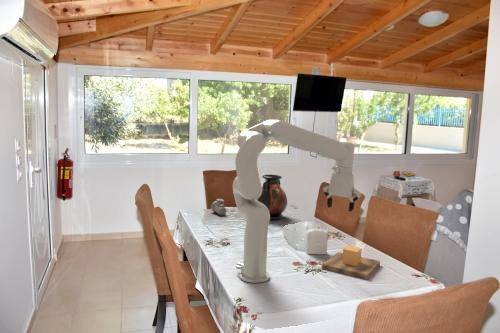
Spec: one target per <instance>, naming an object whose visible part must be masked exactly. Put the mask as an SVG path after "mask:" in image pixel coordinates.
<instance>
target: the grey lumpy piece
mask: <svg viewBox="0 0 500 333" xmlns="http://www.w3.org/2000/svg"><path fill="white" fill-rule="evenodd" d="M224 202H225V200H224V199H222V198H216V200H215V201H213V202H212V204H210V209H211V211H212V212H213V213H217V214H218V215H219V216H220V217H223V216H225V215H226V213H227V212H228V210H227V208H226V206H225V204H224Z"/></svg>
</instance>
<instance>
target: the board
mask: <svg viewBox="0 0 500 333" xmlns="http://www.w3.org/2000/svg"><path fill="white" fill-rule="evenodd" d="M342 260H343V252H341V251H338V252H336V253H335V254H333V256H331V257H329V258H328V259H327V260H326V261H324V262H323V263H322V264H321V269H323V270H326V271H330V272H334V273H337V274H342V275H348V276H350V277H351V276H352V277H355V278H359V279H364V280H368V279H369V278H370V277H371V276H372V275H373V274H374V272H375V271H376V270H377V269H378V268H379V267H380V265H381V260H377V259H373V258H372V259H371V258H367V257H363V256H361V262H360V263H359V264H358V265H357V266H353V265H348V264H344V263H342Z"/></svg>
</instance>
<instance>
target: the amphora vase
mask: <svg viewBox="0 0 500 333" xmlns="http://www.w3.org/2000/svg"><path fill="white" fill-rule="evenodd" d="M261 178H262V179H264V181H263V184H262V193H261V196H260V197H259V198H258V199H257V201H259V202H261V203H263V204H264V205H265V206H266V207H267V208H268V210H269V212H270V221H278V220H281V219H283V218H284V215H283V213H284V212H285V211H286V210H287V207H288V197H287V194H286V192H285V190H284V189H283V188H282V187H281V179H282V178H283V176H282V175H279V174H263V175H262V177H261Z"/></svg>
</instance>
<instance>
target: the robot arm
mask: <svg viewBox="0 0 500 333" xmlns="http://www.w3.org/2000/svg"><path fill="white" fill-rule="evenodd" d="M236 141H237V142H236V143H237V146H238V148H239V149H238V151H237V153H236V157H235V162H234V163H235V164H234V165H235V170H236V177H234V180H233V182H232V191H233V192H232V193H233V197H234V201H235V205H236V209H237V213H238V214H239V216H240V217H241V218H242V220H243V219H244V221H245V228H244V234H243V262H239V261H238V262H237V263H236V266H235V269H237V270H240V272H239V274H238V275H239V278H240V280H241V281H243V282H246V283H250V284H251V283H252V284H259V283H265V282H267V281H269V280H270V279H271V278H270V277H271V274H270V273H269V272H268V271H267V259H268V257H267V256H268V235H269V234H268V232H269V225H270V221H271V220H270V212H269V210H268V208H267V207H266V206H265V205H264V204H263V203H261V202H259V201H257V199H258V198H259V197H260V196H261V193H262V187H263V185H262V183H261V178H260V174H259V170H258V169H259V168H258V158H259V156H260V154H261V153H262V152H263V151H264V149H265V148H266V145H267V143H268V142H269V141H275V142H279V143H280V144H283V145H284V144H285V145H286V146H289V147H292V148H294V149H298V150H301V151H305V152H309V153H315V154H319V156H320V157H322V158H325V159H330V160H335V163H334V166H332V167H331V170H333V172H332V173H331V177H330V180H329V185H327V186H324V187H322V190H323V193H324V195H325V196H326V198H327V199H326V201H327V202H326V206H327V208H332V207H333V197H338V198H339V197H340V198H347V199H349V201H350V202H349V205H348V211H349V212H352V211H354V208H355V202H356V201H357V200H358V199H360V197H361V196H362V192H360V191H359V190H358V189H357V188H355V178H354V173H353V168H354V159H355V158H354V156H355V144H354V143H353V142H347V141H346V142H345V141H339V140H336V139H333V138H330V137H328V136H325V135H322V134H318V133H316V132H314V131H312V130H308V129H305V128H302V127H299V126H297V125H295V124H292V123H290V122H287V121H284V120H280V119H267V120H266V121H265V120H264V121H263V122H260V123H258V124H256V125H254V126H252V127H250V128H248V129H247V128H246V130H244V131H241V133H239V135H238V137H237V140H236ZM354 194H356V196H355V197H354Z"/></svg>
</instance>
